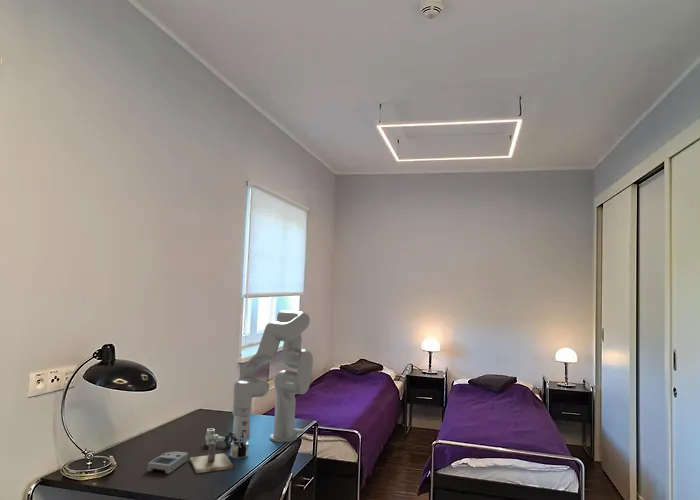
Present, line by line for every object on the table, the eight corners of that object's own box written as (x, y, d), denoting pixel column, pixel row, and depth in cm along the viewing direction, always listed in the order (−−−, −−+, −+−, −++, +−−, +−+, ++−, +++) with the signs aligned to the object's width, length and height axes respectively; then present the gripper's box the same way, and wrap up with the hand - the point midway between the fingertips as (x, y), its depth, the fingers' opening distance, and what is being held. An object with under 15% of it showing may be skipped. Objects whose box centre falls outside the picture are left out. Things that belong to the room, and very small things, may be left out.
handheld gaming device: (187, 461, 197) (188, 452, 197) (168, 475, 182) (169, 465, 182) (167, 459, 198) (168, 450, 198) (146, 473, 184) (147, 462, 184)
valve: (201, 446, 214) (226, 449, 211) (202, 431, 215) (227, 434, 212) (209, 441, 220) (233, 445, 218) (210, 426, 221) (234, 430, 218)
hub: (244, 451, 210) (245, 439, 210) (249, 457, 204) (250, 444, 204) (228, 453, 207) (229, 441, 207) (233, 459, 201) (233, 446, 201)
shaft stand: (224, 456, 203) (225, 436, 204) (232, 468, 191) (234, 446, 192) (189, 460, 197) (191, 439, 197) (196, 473, 184) (197, 451, 185)
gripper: (256, 415, 201) (253, 459, 199) (244, 405, 216) (242, 446, 215) (238, 416, 197) (235, 461, 196) (227, 406, 212) (225, 448, 211)
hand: (239, 453), depth 205 cm, fingers closed on hub, 7 cm apart
